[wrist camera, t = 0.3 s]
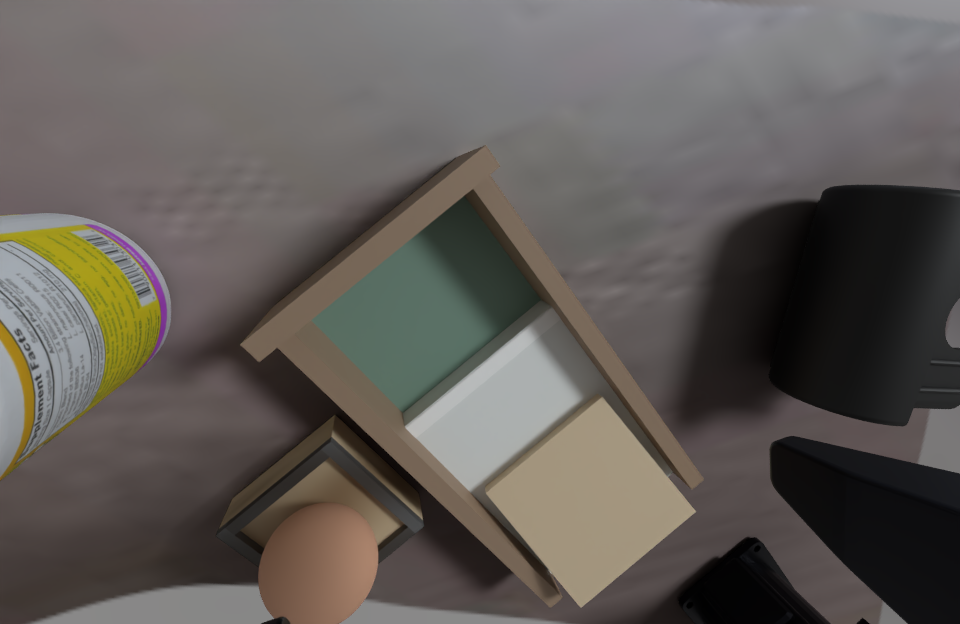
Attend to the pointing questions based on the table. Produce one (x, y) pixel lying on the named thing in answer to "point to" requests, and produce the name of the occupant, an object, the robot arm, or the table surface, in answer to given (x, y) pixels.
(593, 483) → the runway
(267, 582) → the ball
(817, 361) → the end cap
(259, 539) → the grey framed beige square
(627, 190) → the table surface
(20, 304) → the supplement bottle
